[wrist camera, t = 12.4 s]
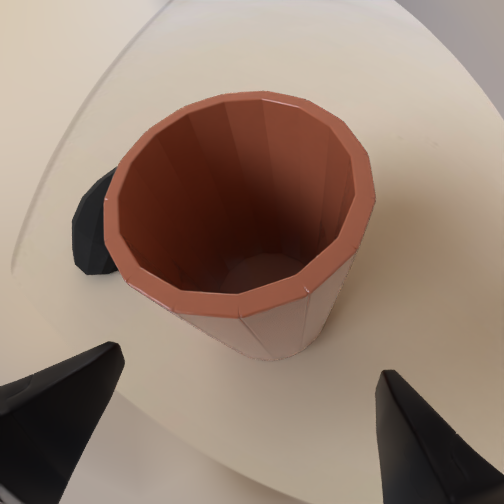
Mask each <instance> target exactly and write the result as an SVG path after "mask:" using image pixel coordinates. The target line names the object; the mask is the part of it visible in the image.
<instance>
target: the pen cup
mask: <svg viewBox="0 0 504 504" xmlns="http://www.w3.org/2000/svg"><path fill="white" fill-rule="evenodd" d="M375 199H376V196H375V189H374V183H373V177H372V171H371V165H370V160H369V156H368V153H367V152H366V150H365V149H364V147H363V146H362V145H361V143H360V142H359V141H358V139H357V138H356V137H355V135H354V134H353V133H352V131H351V130H350V129H349V127H348V126H347V125H346V124H345V122H344V121H342V120H341V119H340V118H338V117H336V116H335V115H333V114H331V113H330V112H328V111H326V110H325V109H323V108H321V107H319V106H318V105H316V104H314V103H312V102H311V101H309V100H306V99H303V98H298V97H294V96H290V95H285V94H280V93H275V92H270V91H249V92H235V93H225V94H220V95H217V96H214V97H210V98H207V99H204V100H201V101H198V102H195V103H192V104H190V105H187V106H184V107H183V108H180V109H179V110H177V111H175V112H174V113H172V114H171V115H169V116H168V117H166V118H164V119H163V120H161V121H160V122H158V123H157V124H155V125H154V126H152V127H151V128H149V129H148V131H146V132H145V133H144V134H143V135H142V136H141V137H140V139H139V140H138V141H137V142H136V143H135V144H134V145H133V147H132V148H131V149H130V150H129V151H128V152H127V154H126V155H125V156H124V157H123V158H122V159H121V161H120V163H119V164H118V166H117V169H116V171H115V173H114V176H113V178H112V181H111V183H110V186H109V188H108V191H107V193H106V196H105V198H104V200H105V201H104V241H105V245H106V247H107V249H108V251H109V253H110V255H111V257H112V259H113V261H114V262H115V264H116V266H117V268H118V270H119V272H120V273H121V275H122V277H123V279H124V281H125V282H126V283H128V285H129V286H131V287H132V288H134V289H135V290H137V291H138V292H140V293H141V294H143V295H144V296H146V297H147V298H149V299H150V300H152V301H153V302H155V303H156V304H158V305H159V306H161V307H163V308H164V309H166V310H167V311H169V312H170V313H172V314H174V315H175V316H177V317H179V318H180V319H182V320H183V321H185V322H187V323H188V324H190V325H192V326H193V327H195V328H197V329H198V330H200V331H202V332H204V333H205V334H207V335H209V336H210V337H212V338H214V339H216V340H217V341H219V342H221V343H223V344H224V345H226V346H228V347H230V348H232V349H234V350H235V351H237V352H239V353H241V354H243V355H245V356H247V357H249V358H252V359H258V360H280V359H284V358H288V357H290V356H293V355H295V354H297V353H299V352H301V351H302V350H304V349H305V348H306V347H307V346H309V345H310V344H311V343H312V342H313V341H314V340H315V339H316V338H317V337H318V335H319V334H320V332H321V330H322V328H323V326H324V324H325V322H326V320H327V318H328V316H329V313H330V311H331V309H332V307H333V305H334V303H335V301H336V299H337V297H338V294H339V292H340V290H341V288H342V286H343V283H344V281H345V279H346V277H347V275H348V272H349V270H350V268H351V265H352V263H353V261H354V258H355V256H356V254H357V251H358V249H359V246H360V244H361V241H362V238H363V236H364V233H365V230H366V228H367V225H368V222H369V219H370V216H371V214H372V211H373V208H374V205H375V202H376V200H375Z"/></svg>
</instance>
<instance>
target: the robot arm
mask: <svg viewBox="0 0 504 504" xmlns="http://www.w3.org/2000/svg"><path fill="white" fill-rule="evenodd" d="M124 365H125V360H124V357H123V354H122V351H121V348H120V345H119V344H118V343H115V342H111V341H108V342H106V343H103V344H101V345H99V346H97V347H94V348H92V349H90V350H88V351H85V352H83V353H81V354H79V355H76V356H74V357H72V358H69V359H67V360H65V361H62V362H60V363H58V364H55V365H53V366H51V367H49V368H46V369H44V370H41V371H39V372H37V373H34V374H32V375H29V376H27V377H25V378H22V379H20V380H17V381H14V382H12V383H9V384H6V385H3V386H0V504H59V501H60V499H61V497H62V495H63V493H64V490H65V488H66V486H67V484H68V481H69V480H70V477H71V475H72V473H73V471H74V469H75V467H76V465H77V463H78V461H79V459H80V457H81V455H82V453H83V451H84V449H85V447H86V445H87V443H88V441H89V439H90V437H91V435H92V433H93V431H94V429H95V427H96V425H97V424H98V422H99V419H100V418H101V416H102V414H103V412H104V410H105V409H106V406H107V405H108V403H109V401H110V399H111V397H112V395H113V392H114V390H115V387H116V385H117V382H118V380H119V378H120V375H121V373H122V370H123V368H124ZM375 398H376V434H377V443H378V451H379V459H380V469H381V479H382V490H383V503H384V504H504V475H503V474H502V473H501V472H500V471H498V470H497V469H496V468H495V467H493V466H492V465H491V464H490V463H489V462H487V461H486V460H485V459H484V458H483V457H481V456H480V455H479V454H478V453H477V452H476V451H475V450H473V449H472V448H471V447H470V446H469V445H468V444H467V443H466V442H465V441H464V440H463V439H462V438H461V437H460V436H459V435H458V434H456V432H455V431H454V430H453V429H452V428H451V426H450V425H449V424H448V423H447V422H446V421H445V420H444V419H443V418H442V417H441V416H440V415H439V414H438V413H437V412H436V411H435V410H434V409H433V408H432V407H431V406H430V405H429V404H428V403H427V402H426V401H425V400H424V399H423V398H422V397H421V396H420V395H419V394H418V393H417V392H416V391H415V390H414V389H413V388H412V387H411V386H410V385H409V384H408V383H407V382H406V381H405V380H404V379H403V378H402V377H401V376H400V375H399V374H398V373H397V372H396V371H395V370H383V371H382V372H381V375H380V378H379V381H378V384H377V387H376V392H375Z"/></svg>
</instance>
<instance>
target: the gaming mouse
mask: <svg viewBox="0 0 504 504" xmlns="http://www.w3.org/2000/svg"><path fill="white" fill-rule="evenodd" d="M116 169H117V167H115V168H114V169H113V170H111V171H110V172H109V173H107V174H106V175H104V176H103V177H102V178H100V179H99V180H98V181H97V182H96V183H95V184H94V185H93V186H92V187H91V188H90V189H89V190H88V192H87V193H86V194H85V195H84V196H83V197H82V199H81V201H80V203H79V205H78V208H77V210H76V212H75V215H74V217H73V219H72V250H73V256H74V262H75V265H76V266H77V267H79V268H80V269H81V270H82V271H83V272H84V273H85V274H86V275H97V274H110V273H112V272H114V271H117V270H118V268H117V266H116V264H115V262H114V261H113V259H112V257H111V255H110V253H109V251H108V249H107V247H106V245H105V241H104V201H105V200H104V198H105V196H106V193H107V191H108V188H109V186H110V183H111V181H112V178H113V176H114V173H115V171H116Z"/></svg>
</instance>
